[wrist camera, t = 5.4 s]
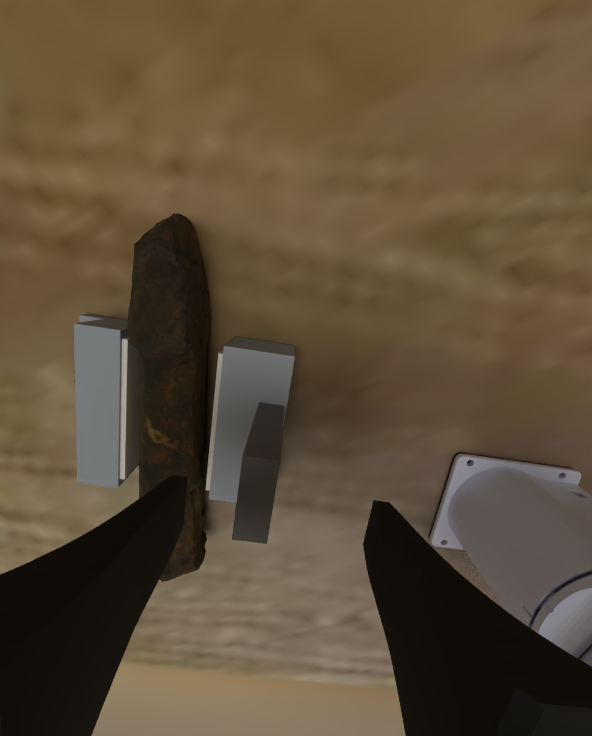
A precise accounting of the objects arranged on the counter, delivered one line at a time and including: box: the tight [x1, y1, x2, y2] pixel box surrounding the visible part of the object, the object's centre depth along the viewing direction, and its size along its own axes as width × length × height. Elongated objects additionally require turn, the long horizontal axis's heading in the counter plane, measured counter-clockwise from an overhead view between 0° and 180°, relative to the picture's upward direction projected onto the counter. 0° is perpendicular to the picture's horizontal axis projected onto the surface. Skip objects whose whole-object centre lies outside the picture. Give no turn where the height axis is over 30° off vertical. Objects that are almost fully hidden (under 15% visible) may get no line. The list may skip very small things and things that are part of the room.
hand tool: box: [128, 214, 211, 581], centre depth 19 cm, size 23×5×6 cm, turn 171°
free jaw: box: [206, 337, 295, 544], centre depth 17 cm, size 4×10×10 cm, turn 171°
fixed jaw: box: [74, 314, 140, 488], centre depth 20 cm, size 4×10×4 cm, turn 171°
